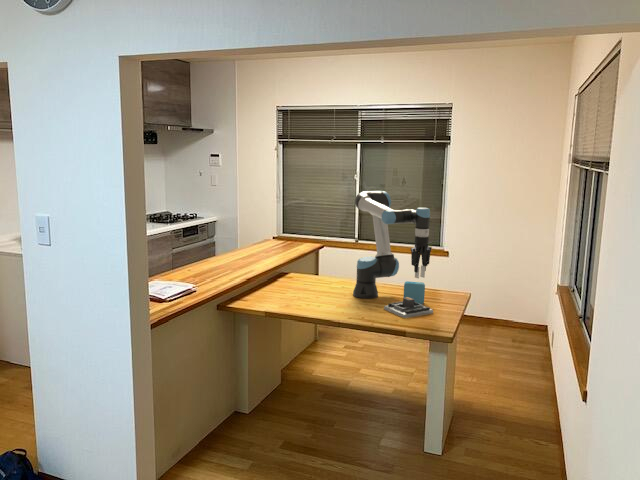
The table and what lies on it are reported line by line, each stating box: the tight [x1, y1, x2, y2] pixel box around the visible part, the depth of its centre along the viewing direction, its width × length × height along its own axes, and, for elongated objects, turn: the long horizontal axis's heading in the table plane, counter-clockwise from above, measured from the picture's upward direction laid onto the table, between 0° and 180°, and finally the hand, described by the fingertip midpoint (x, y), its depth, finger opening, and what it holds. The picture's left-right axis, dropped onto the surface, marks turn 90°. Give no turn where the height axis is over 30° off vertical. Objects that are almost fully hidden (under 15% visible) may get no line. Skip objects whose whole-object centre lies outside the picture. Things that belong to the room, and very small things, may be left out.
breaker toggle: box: [402, 297, 415, 307], centre depth 296 cm, size 5×4×5 cm
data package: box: [402, 281, 426, 305], centre depth 313 cm, size 12×4×12 cm, turn 79°
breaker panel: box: [383, 300, 434, 319], centre depth 296 cm, size 18×20×4 cm
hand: (419, 277), depth 297 cm, fingers open, 3 cm apart
